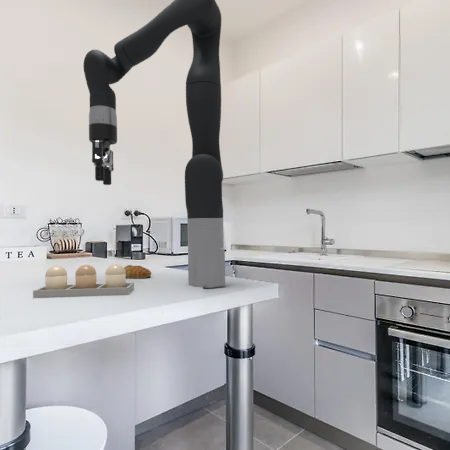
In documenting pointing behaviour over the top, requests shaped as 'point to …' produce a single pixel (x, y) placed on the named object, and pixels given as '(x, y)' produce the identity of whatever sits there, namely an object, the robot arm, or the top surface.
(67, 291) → the carton
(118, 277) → the egg
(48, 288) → the egg
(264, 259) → the top surface
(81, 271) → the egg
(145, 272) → the pastry
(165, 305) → the top surface
